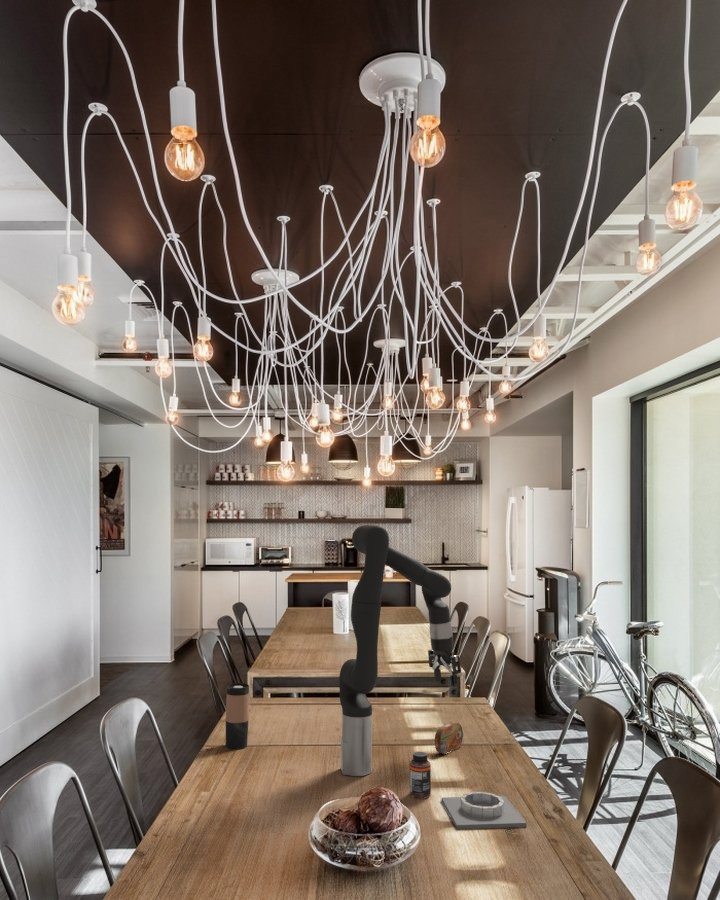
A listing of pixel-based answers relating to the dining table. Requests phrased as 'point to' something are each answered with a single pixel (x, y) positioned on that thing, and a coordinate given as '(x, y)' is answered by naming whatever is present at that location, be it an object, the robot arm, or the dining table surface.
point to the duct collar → (478, 810)
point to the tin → (448, 738)
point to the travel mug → (237, 715)
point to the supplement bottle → (420, 775)
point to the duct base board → (468, 822)
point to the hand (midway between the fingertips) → (446, 683)
